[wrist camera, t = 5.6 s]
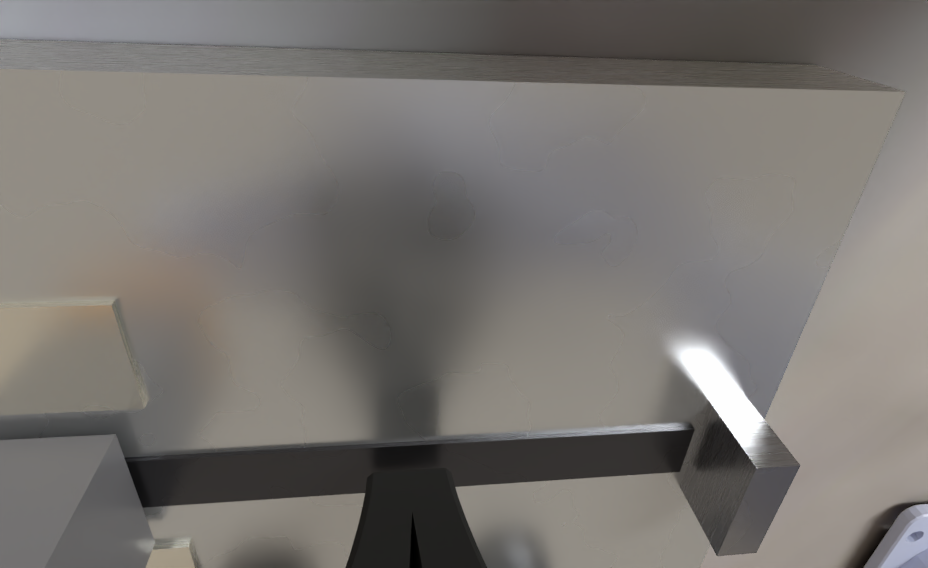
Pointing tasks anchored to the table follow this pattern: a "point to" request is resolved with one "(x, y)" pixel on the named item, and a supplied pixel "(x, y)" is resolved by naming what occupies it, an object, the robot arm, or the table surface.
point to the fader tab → (70, 505)
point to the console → (422, 287)
